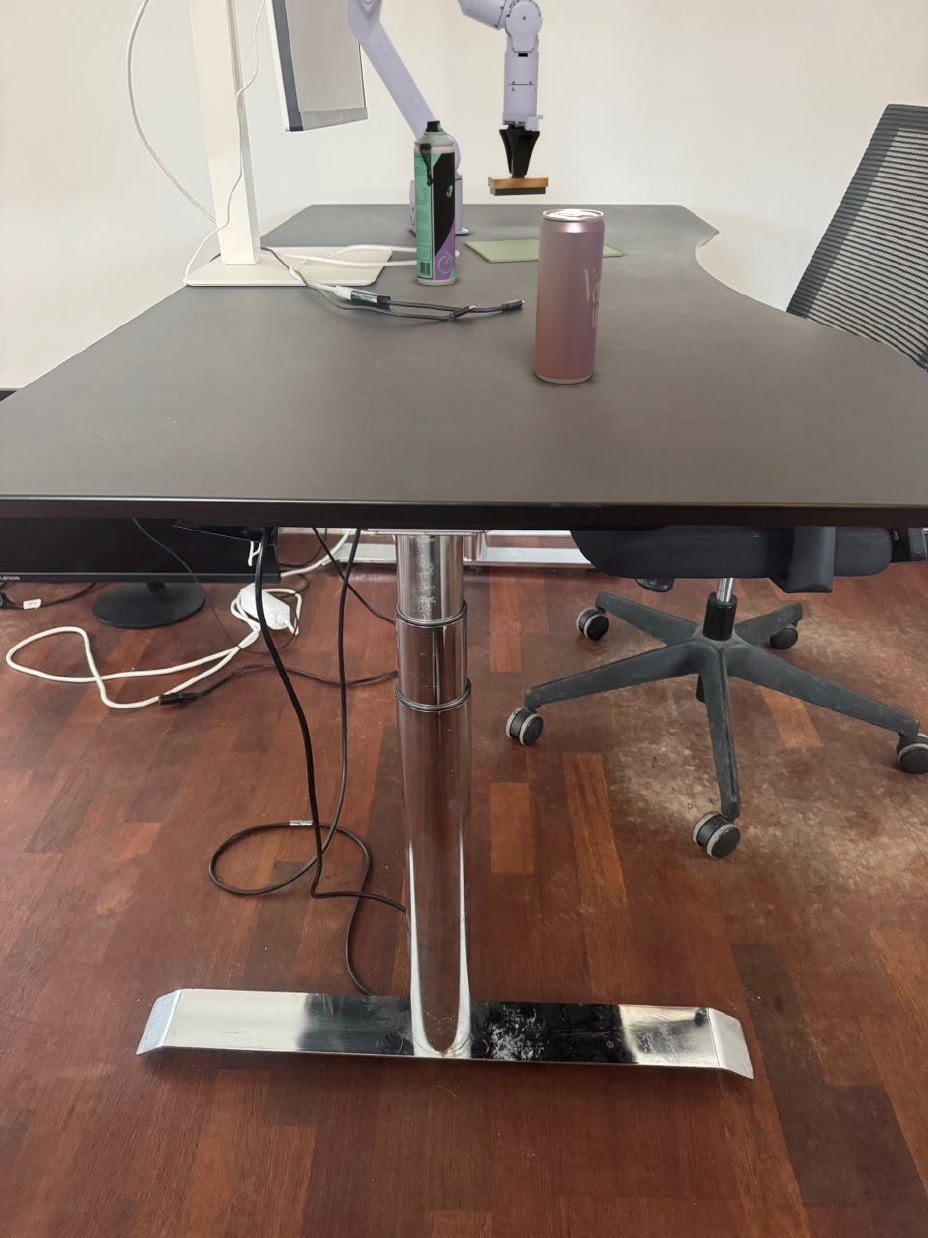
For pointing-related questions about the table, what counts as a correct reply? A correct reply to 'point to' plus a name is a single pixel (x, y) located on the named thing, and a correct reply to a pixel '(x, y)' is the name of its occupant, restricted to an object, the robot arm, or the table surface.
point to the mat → (517, 250)
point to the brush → (517, 185)
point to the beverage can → (568, 294)
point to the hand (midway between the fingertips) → (518, 174)
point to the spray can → (435, 206)
